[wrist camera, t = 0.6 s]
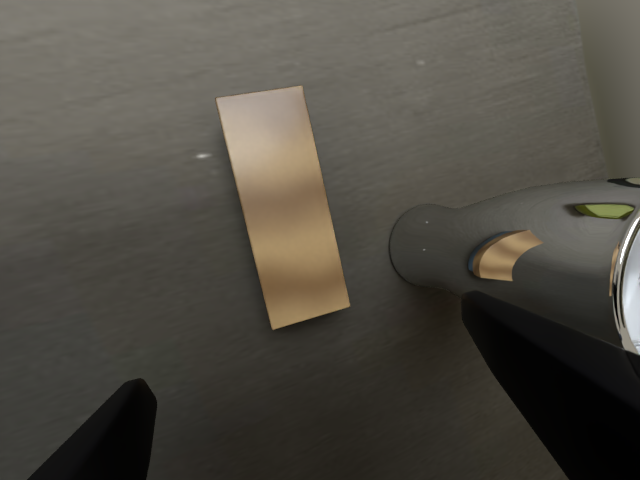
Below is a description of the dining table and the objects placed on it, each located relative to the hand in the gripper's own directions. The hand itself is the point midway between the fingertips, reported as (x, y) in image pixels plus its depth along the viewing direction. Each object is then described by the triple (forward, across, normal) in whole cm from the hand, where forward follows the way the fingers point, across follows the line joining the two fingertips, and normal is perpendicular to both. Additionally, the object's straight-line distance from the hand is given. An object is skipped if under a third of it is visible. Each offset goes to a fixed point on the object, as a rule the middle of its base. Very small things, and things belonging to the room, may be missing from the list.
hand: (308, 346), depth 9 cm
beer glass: (+14, -9, +6) cm, 18 cm away
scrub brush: (+14, +1, +1) cm, 14 cm away
